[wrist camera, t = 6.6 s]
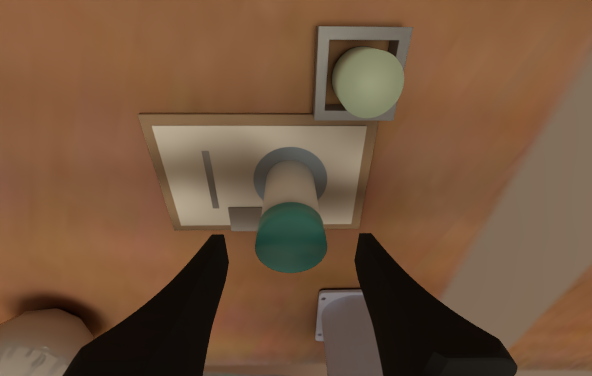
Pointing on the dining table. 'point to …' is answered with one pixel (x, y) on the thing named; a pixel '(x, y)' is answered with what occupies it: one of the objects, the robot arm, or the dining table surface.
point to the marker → (290, 220)
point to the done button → (367, 81)
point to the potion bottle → (41, 342)
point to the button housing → (325, 33)
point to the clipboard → (255, 164)
